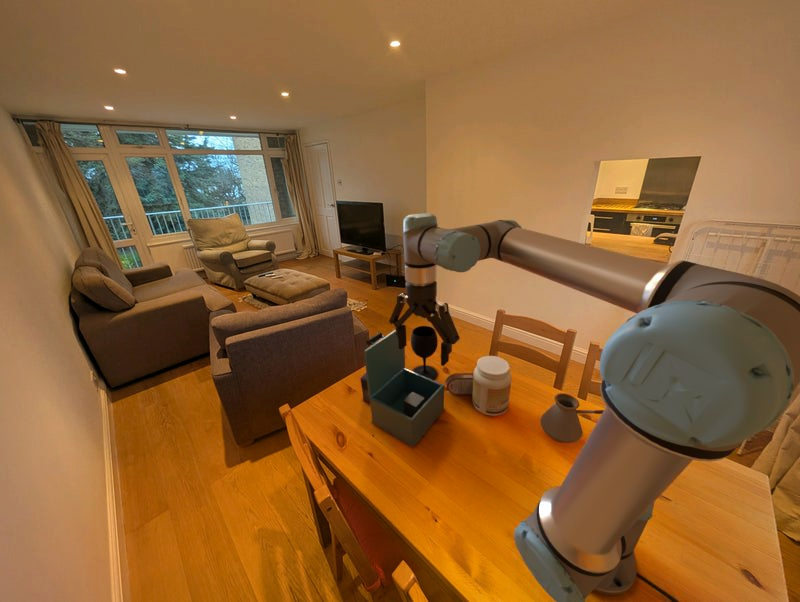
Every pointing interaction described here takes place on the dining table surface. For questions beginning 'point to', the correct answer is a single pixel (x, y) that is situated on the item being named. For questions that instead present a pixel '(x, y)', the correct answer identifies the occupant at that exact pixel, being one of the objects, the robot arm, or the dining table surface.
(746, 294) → the robot arm
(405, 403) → the block
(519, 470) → the dining table surface
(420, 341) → the wine glass
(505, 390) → the supplement tub
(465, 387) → the tin
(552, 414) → the coffee pot
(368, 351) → the lid
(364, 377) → the small box
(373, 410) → the teal open box
